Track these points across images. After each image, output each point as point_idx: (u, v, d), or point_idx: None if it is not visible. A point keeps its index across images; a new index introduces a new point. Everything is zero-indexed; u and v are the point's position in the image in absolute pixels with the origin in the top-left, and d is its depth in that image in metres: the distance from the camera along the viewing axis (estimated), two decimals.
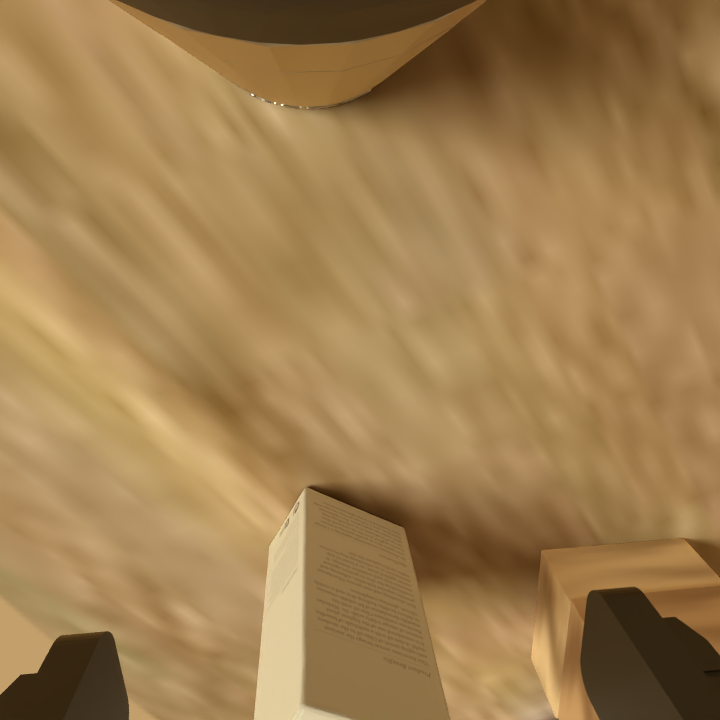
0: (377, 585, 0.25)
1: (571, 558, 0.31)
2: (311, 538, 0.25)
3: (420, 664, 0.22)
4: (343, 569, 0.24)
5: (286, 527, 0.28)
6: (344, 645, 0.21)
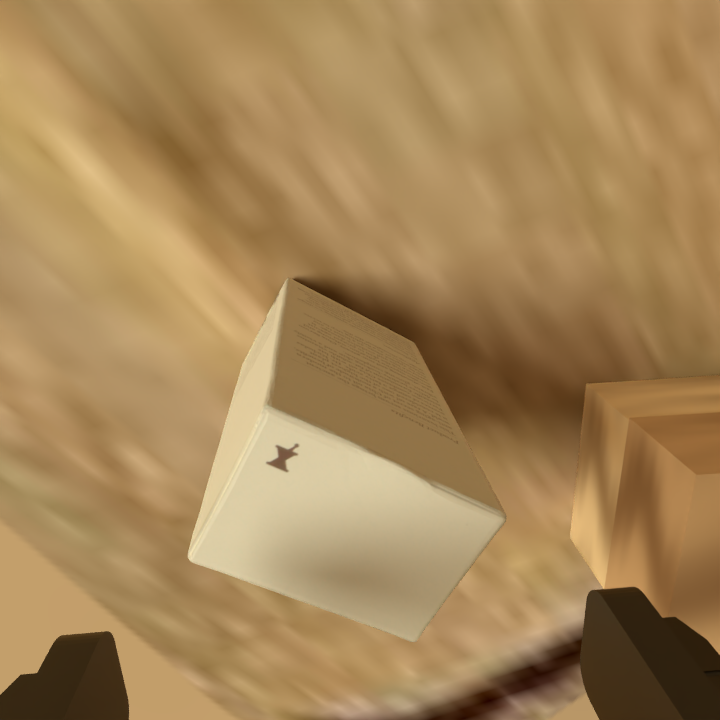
0: (381, 362, 0.18)
1: (625, 389, 0.24)
2: (292, 305, 0.19)
3: (443, 431, 0.15)
4: (336, 337, 0.18)
5: (263, 325, 0.22)
6: (335, 383, 0.14)
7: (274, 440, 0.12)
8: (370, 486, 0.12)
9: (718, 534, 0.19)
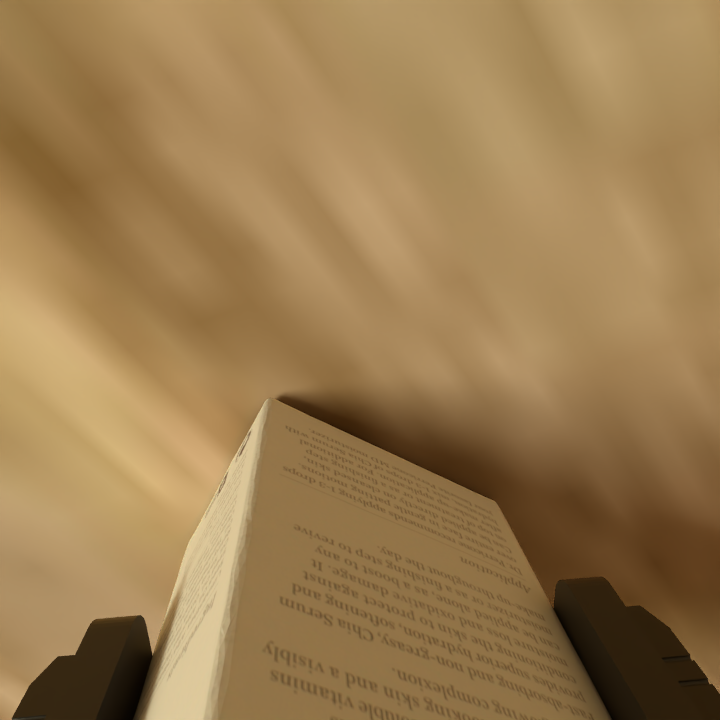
0: (474, 652, 0.08)
1: None
2: (269, 505, 0.08)
3: None
4: (369, 600, 0.08)
5: (219, 493, 0.11)
6: None
7: None
8: None
9: None
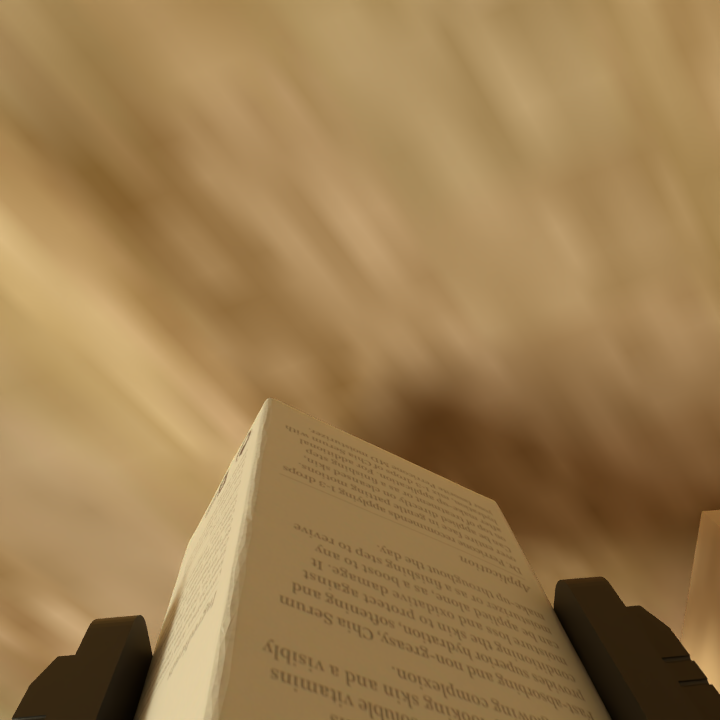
0: (473, 651, 0.08)
1: None
2: (269, 504, 0.08)
3: None
4: (369, 598, 0.08)
5: (219, 492, 0.11)
6: None
7: None
8: None
9: None
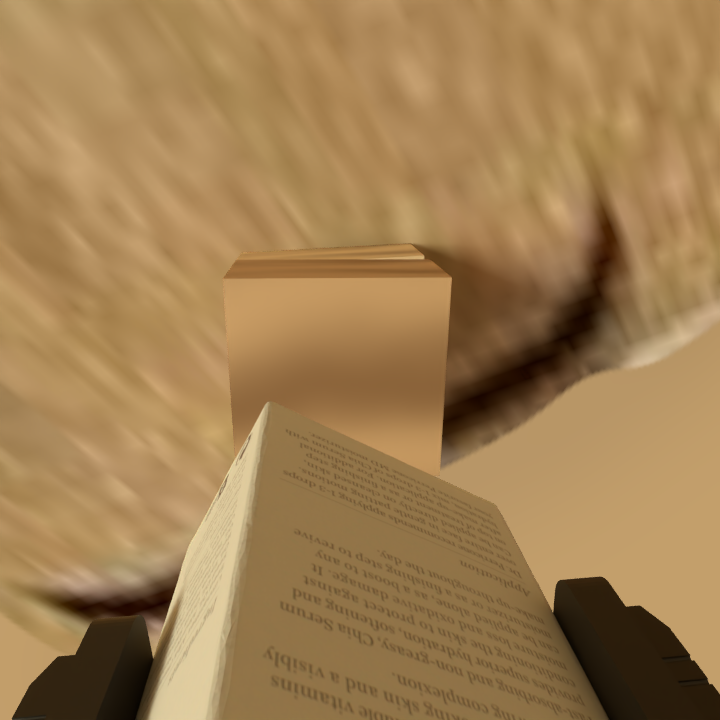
0: (473, 656, 0.08)
1: (268, 253, 0.26)
2: (269, 509, 0.08)
3: None
4: (369, 604, 0.08)
5: (219, 496, 0.11)
6: None
7: None
8: None
9: (259, 341, 0.21)
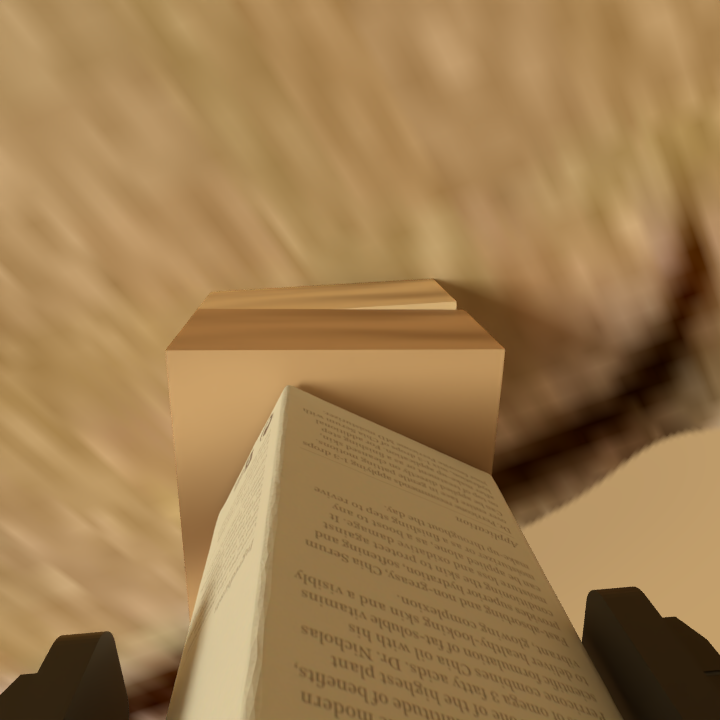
0: (465, 588, 0.09)
1: (245, 294, 0.20)
2: (293, 471, 0.10)
3: None
4: (378, 545, 0.09)
5: (246, 468, 0.13)
6: None
7: None
8: None
9: (221, 439, 0.14)
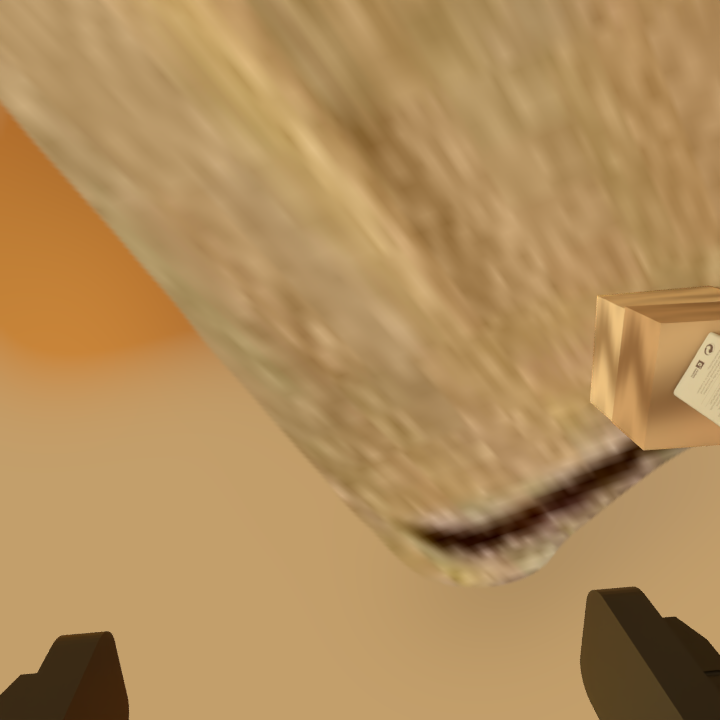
0: None
1: (622, 296, 0.39)
2: None
3: None
4: None
5: (702, 367, 0.32)
6: None
7: None
8: None
9: (675, 360, 0.33)
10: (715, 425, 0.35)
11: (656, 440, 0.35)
